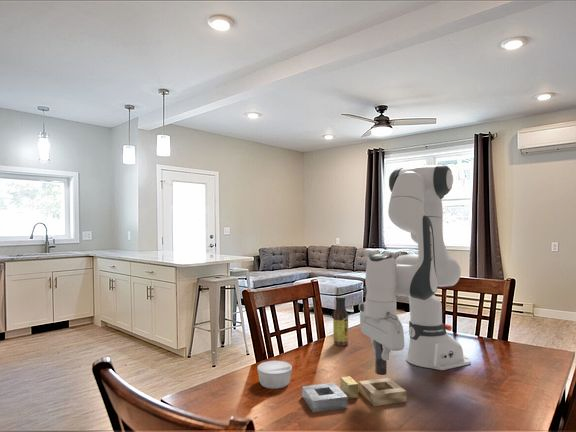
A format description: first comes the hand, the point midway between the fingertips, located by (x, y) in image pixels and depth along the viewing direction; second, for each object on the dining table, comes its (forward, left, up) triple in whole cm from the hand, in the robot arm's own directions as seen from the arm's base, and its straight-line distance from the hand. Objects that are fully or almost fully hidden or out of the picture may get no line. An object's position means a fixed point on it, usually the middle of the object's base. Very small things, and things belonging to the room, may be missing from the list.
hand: (381, 357), depth 114 cm
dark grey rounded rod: (0, 0, -5) cm, 5 cm away
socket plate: (+17, -1, -11) cm, 21 cm away
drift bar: (+8, -4, -11) cm, 15 cm away
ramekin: (+28, -18, -12) cm, 35 cm away
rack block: (0, 0, -11) cm, 11 cm away
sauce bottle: (-8, -50, -12) cm, 52 cm away
